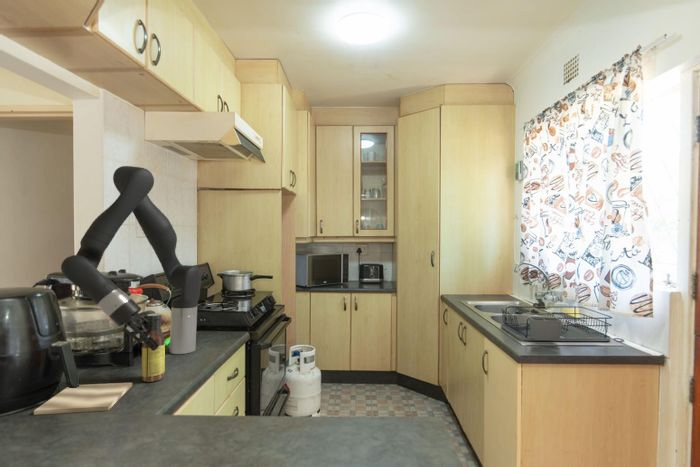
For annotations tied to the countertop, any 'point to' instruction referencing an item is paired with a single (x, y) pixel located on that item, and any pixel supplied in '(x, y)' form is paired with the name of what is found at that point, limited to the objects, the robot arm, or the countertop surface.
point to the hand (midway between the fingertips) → (160, 345)
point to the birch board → (84, 398)
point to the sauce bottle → (153, 359)
